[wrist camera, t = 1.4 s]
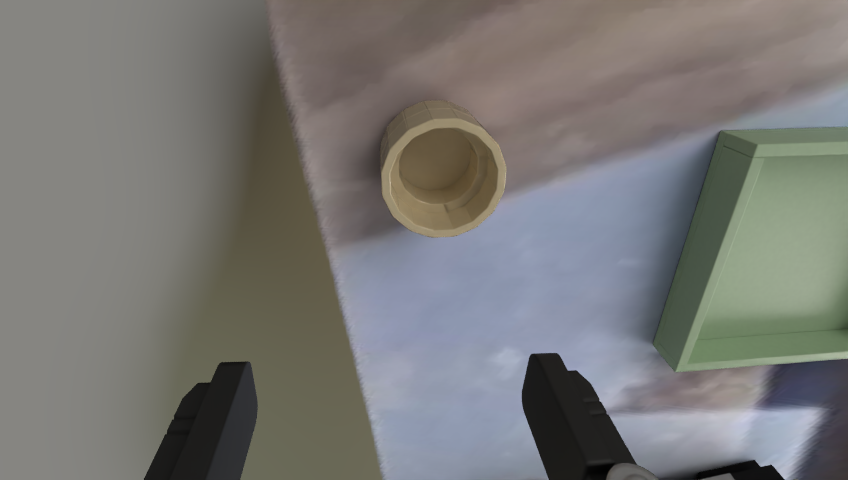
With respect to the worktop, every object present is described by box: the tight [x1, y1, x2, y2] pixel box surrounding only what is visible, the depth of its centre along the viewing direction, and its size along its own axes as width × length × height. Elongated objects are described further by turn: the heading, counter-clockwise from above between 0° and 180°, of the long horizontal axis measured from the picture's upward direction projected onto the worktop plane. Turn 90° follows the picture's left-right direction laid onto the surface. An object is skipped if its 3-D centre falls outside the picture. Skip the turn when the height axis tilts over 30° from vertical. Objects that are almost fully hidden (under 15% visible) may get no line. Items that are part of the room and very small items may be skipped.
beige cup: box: [380, 100, 506, 237], centre depth 24 cm, size 6×6×5 cm
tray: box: [653, 127, 848, 372], centre depth 31 cm, size 18×18×3 cm
